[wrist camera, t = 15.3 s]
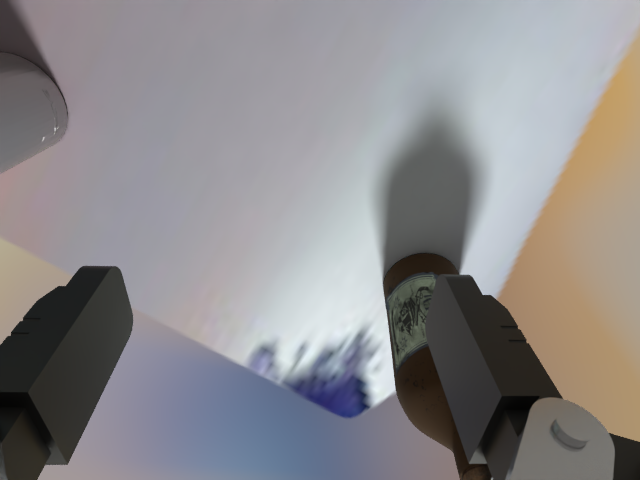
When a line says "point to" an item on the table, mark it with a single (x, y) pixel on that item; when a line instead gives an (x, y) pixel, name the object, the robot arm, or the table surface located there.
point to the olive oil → (422, 355)
